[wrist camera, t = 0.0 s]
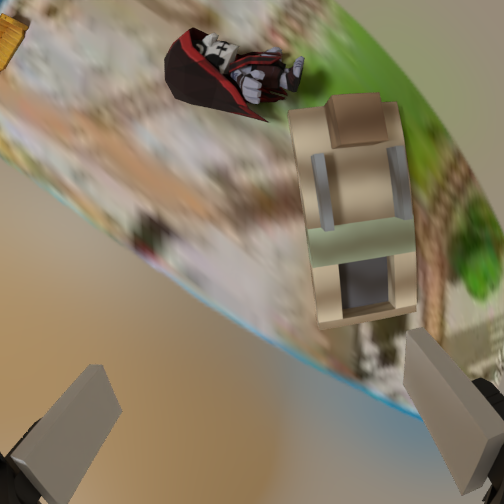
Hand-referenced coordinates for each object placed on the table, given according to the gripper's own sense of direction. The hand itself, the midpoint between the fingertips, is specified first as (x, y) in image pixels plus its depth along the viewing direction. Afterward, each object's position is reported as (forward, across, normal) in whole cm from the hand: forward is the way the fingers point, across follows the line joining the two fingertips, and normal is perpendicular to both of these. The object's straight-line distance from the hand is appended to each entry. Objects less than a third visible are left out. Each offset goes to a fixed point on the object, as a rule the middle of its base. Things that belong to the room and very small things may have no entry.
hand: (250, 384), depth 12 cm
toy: (+28, 0, +20) cm, 35 cm away
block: (+25, +12, +13) cm, 30 cm away
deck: (+28, +12, +2) cm, 30 cm away
